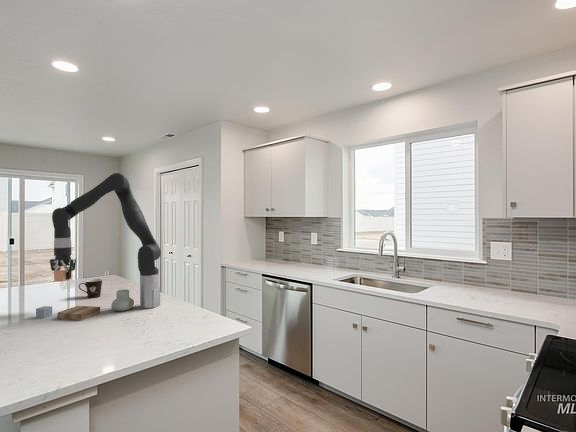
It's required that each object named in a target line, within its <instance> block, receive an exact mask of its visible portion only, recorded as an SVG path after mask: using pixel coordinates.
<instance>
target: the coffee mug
mask: <svg viewBox="0 0 576 432" xmlns="http://www.w3.org/2000/svg"><path fill="white" fill-rule="evenodd" d="M81 285H85V287H86V290H84V289H82V288H81ZM102 285H103V278H93V279H87V280H85V282H81V283H79V284H78V289H79V290H81V291H82V292H84V293H86V294H87V299H97V298H100V297H101V294H102Z"/></svg>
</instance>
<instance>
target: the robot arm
mask: <svg viewBox="0 0 576 432" xmlns="http://www.w3.org/2000/svg"><path fill="white" fill-rule="evenodd" d="M130 185H131V184H130V182H129V180H128V178H127V177H126V176H125V175H124V174H122V173H120V172H114V173H112V174H110V175H109V176H107V177H106V178H105V179H103V181H102V182H100V183H99V184H97V185H96V186H94V187H93V188H92V189H89V190H88V191H87V192H85V193H83V194H82V195H79V197H76V198H75V199H73V200H72V201H70V203H69V204H67V205H65V206H64V207H57V208H56V209H54V210H53V211H52V214H51V219H52V220H51V221H52V225H53V229H54V230H53V231H54V232H53V233H54V234H53V235H54V239H53V256H54V258H51V259H49V264H50V269H51V271H52V272H54V271H59V270H62V268H63V269H64V270H66V279H67V281H69V280H68V279H71V271H72V272H73V271H76V264H77V259H76V258H73V259H72V258H71V257H72V238H71V236H72V235H71V234H72V233H71V232H72V231H71V227H70V226H69V221H70V220H71V219H73V218H75V216H77V215H78V214H79V213H82V212H83V211H85V210H87V209H89V208H90V207H92V206H93V205H95V204H96V203H98V201H99V200H101V198H102V197H104V196H106V195H107V194H108V193H111V192H113V191H114V193H115V194H116V196H117V197H118V200H119V202H120V206H121V210H122V211H121V212H122V216H123V218H124V220H125V222H126V224H127V226H128V228H129V229H130V230H131V232H133V233H134V235H135V236H137V238H138V239H139V240H140V242H141V244H142V246H140V248H139V249H138V251H137V269H138V271H139V307H140V309H155V308H156V307H159V306H160V305H161V287H160V286H159V285H160V284H159V268H158V267H157V266H156V263H155V262H156V260H158V259H160V258H161V254H162V253H161V252H162V251H161V248H160V245H159V244H158V243H157V241H156V239H155V238H154V235H153V234H152V232H151V230H150V227H149V225H148V224H147V221H146V218H145V216H144V214H143V211H142V209H141V207H140V205H139V204H138V202H137V199H135V197H134V195H133V191H132V188H131V186H130Z"/></svg>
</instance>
